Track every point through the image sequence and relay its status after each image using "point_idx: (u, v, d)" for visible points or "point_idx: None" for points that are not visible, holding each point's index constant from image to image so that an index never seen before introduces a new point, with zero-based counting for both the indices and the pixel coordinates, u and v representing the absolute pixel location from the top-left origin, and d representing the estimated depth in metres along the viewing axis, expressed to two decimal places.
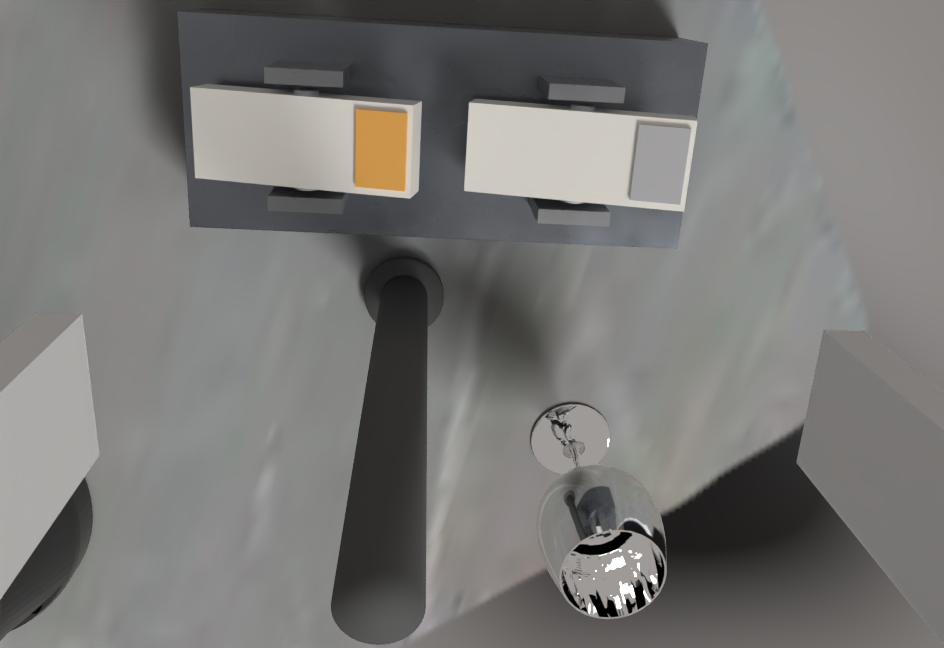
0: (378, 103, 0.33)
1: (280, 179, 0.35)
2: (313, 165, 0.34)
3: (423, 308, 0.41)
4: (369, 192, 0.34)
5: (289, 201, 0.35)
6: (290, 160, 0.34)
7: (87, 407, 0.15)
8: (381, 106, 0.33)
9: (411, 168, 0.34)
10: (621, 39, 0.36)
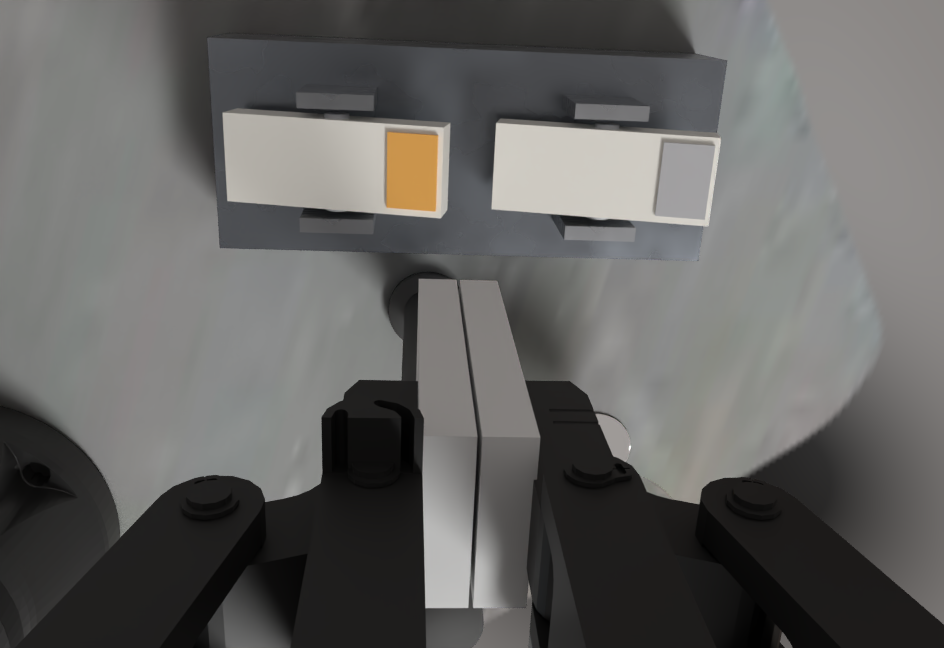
0: (409, 126, 0.34)
1: (312, 201, 0.35)
2: (344, 187, 0.35)
3: None
4: (400, 213, 0.35)
5: (321, 222, 0.36)
6: (322, 182, 0.35)
7: None
8: (412, 129, 0.34)
9: (441, 189, 0.34)
10: (642, 58, 0.37)
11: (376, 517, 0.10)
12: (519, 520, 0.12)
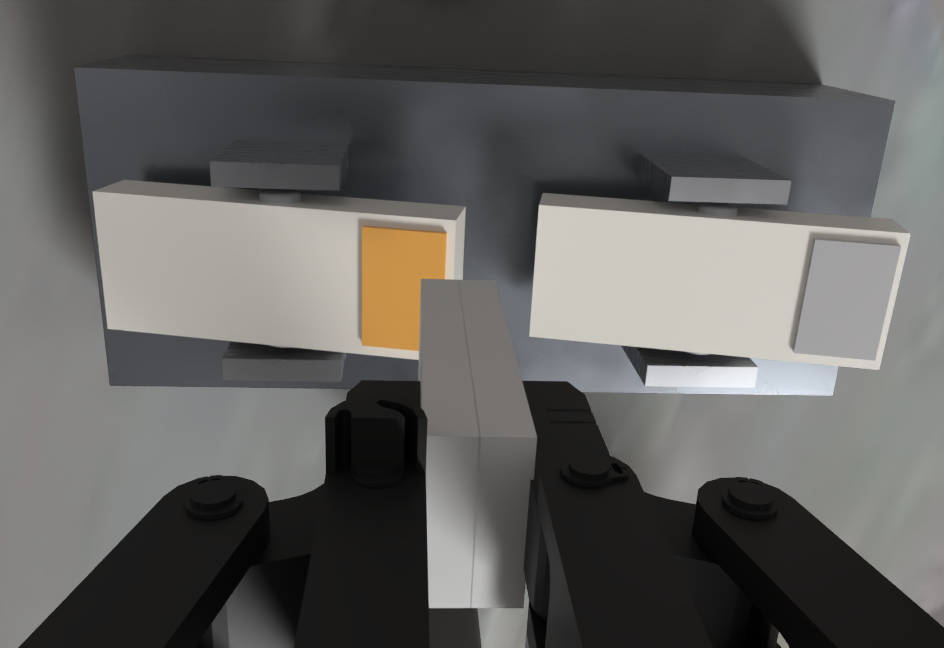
0: (398, 217, 0.20)
1: (242, 332, 0.22)
2: (294, 311, 0.21)
3: None
4: (384, 353, 0.21)
5: (257, 365, 0.22)
6: (257, 303, 0.22)
7: None
8: (403, 221, 0.20)
9: None
10: (764, 97, 0.24)
11: (380, 517, 0.10)
12: (516, 520, 0.12)
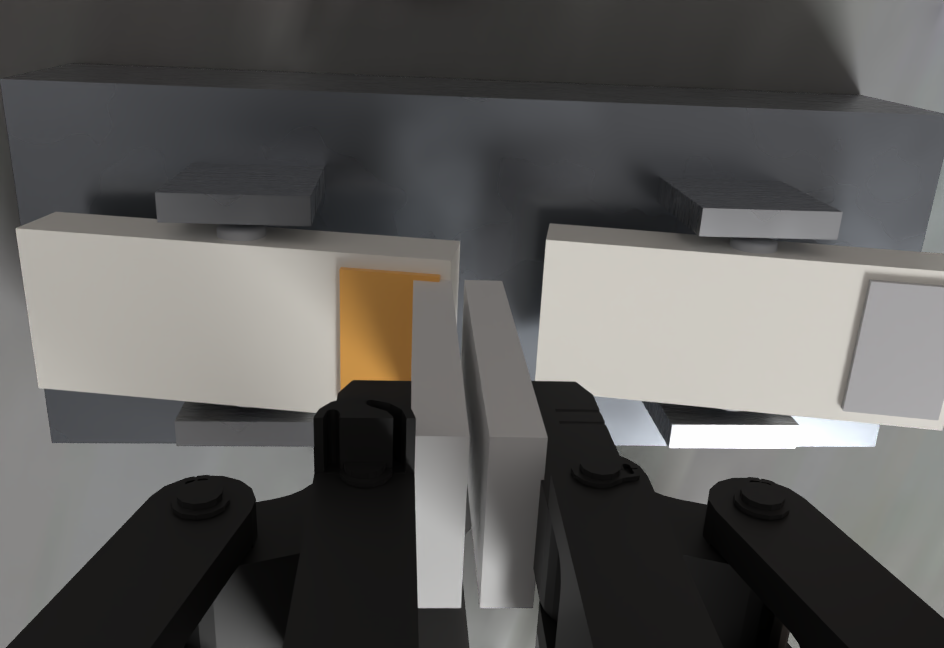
0: (382, 257, 0.17)
1: (198, 391, 0.19)
2: (260, 367, 0.18)
3: None
4: None
5: (216, 428, 0.19)
6: (216, 358, 0.18)
7: None
8: (388, 262, 0.17)
9: None
10: (804, 112, 0.20)
11: (368, 517, 0.10)
12: (526, 520, 0.12)
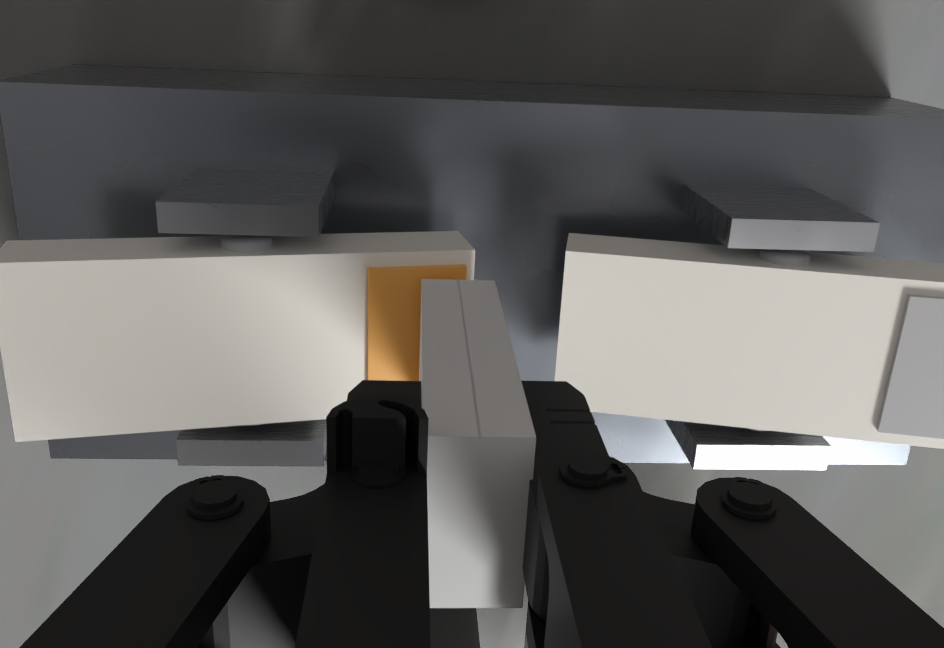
0: (409, 253, 0.17)
1: (211, 415, 0.17)
2: (280, 380, 0.18)
3: None
4: None
5: (220, 447, 0.18)
6: (231, 377, 0.17)
7: None
8: (414, 257, 0.17)
9: None
10: (837, 116, 0.20)
11: (380, 517, 0.10)
12: (515, 520, 0.12)
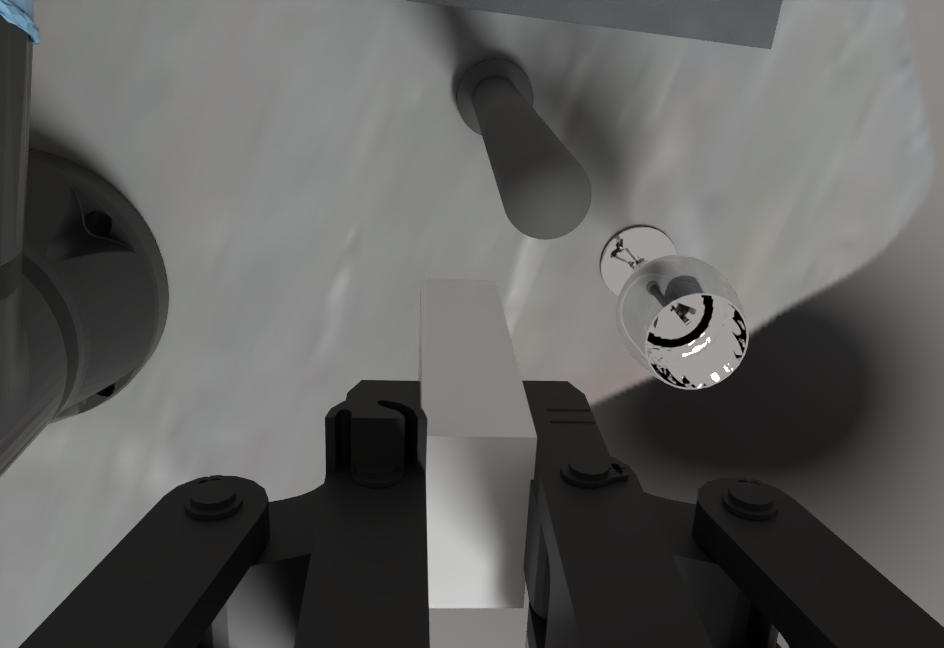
0: None
1: None
2: None
3: None
4: None
5: None
6: None
7: None
8: None
9: None
10: None
11: (379, 517, 0.10)
12: (516, 520, 0.12)
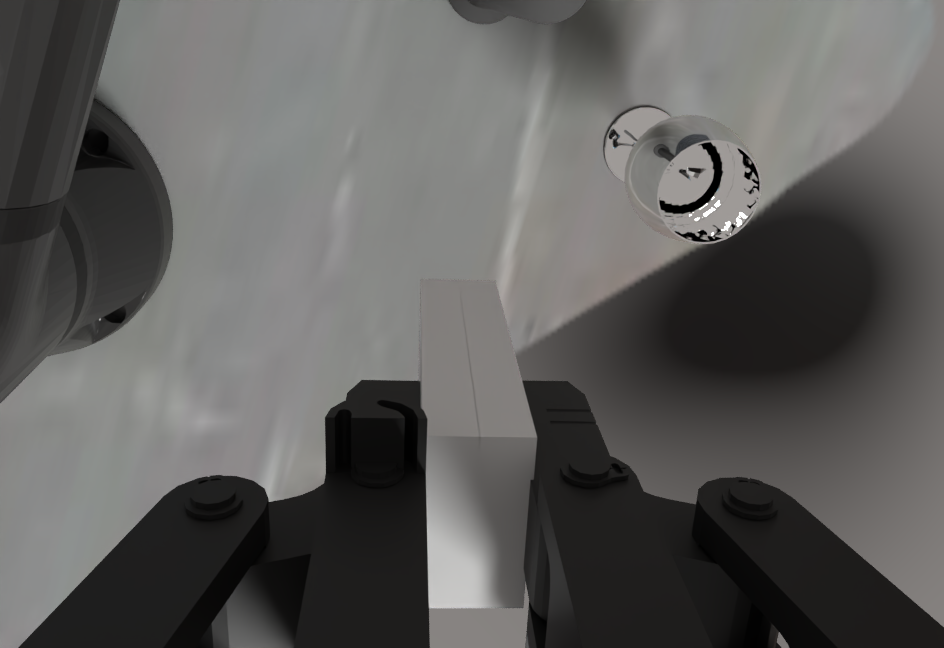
0: None
1: None
2: None
3: None
4: None
5: None
6: None
7: None
8: None
9: None
10: None
11: (379, 517, 0.10)
12: (516, 520, 0.12)
